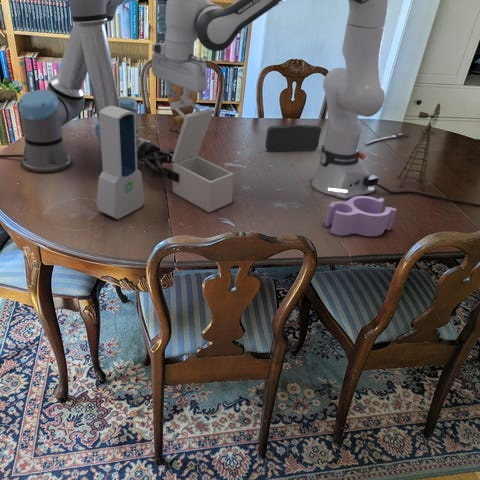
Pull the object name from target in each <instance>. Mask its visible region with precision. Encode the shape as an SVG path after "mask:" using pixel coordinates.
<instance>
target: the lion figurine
mask: <svg viewBox="0 0 480 480" xmlns="http://www.w3.org/2000/svg"><path fill="white" fill-rule="evenodd" d="M199 110H200V111H202V110H201V109H199ZM194 112H197V111H196V110H195V111H194ZM183 122H184V118H183V117H182V116H181V115H176V116H175V117H174V118H173V119H172V123H171V127H170V128H169V130H168V131H169V132H171V131H176V130H177V132H178V133H179V134H180V131H181V129H180V128H181V127H182V125H183ZM176 126H177V127H176ZM175 127H176V128H175Z"/></svg>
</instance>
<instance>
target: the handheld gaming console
mask: <svg viewBox="0 0 480 480" xmlns="http://www.w3.org/2000/svg"><path fill="white" fill-rule="evenodd" d="M321 133H322V127H321V126H319V125H318V124H292V125H291V124H290V125H289V124H286V125H285V124H284V125H283V124H281V125H270V126H268V127H267V130H266V139H265V145H264V146H265V150H267V151H268V152H289V151H290V152H292V151H294V152H295V151H312V150H317V148H318V147H319V144H320V137H321Z"/></svg>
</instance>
